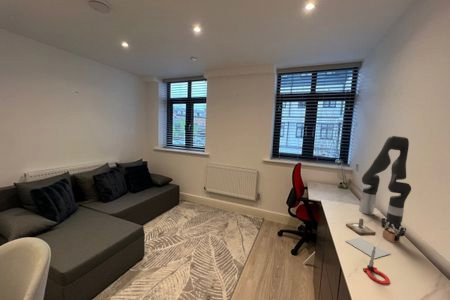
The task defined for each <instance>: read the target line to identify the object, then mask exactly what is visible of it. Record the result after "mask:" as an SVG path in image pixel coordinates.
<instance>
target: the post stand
mask: <svg viewBox="0 0 450 300" xmlns="http://www.w3.org/2000/svg"><path fill="white" fill-rule="evenodd" d="M345 226H346V227H347V228H349V229H350V230H352V231H353V232H354V233H356V234H358V235H359V236H360V235H361V236H362V235H363V236H364V235H366V236H367V235H368V236H369V235H376V231H375V230H373V229H371V228H369V227H368V226H366V224H365V225H364V219H363V218H359V221H358V223H357V222H356V223H351V222H350V223H345Z"/></svg>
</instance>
